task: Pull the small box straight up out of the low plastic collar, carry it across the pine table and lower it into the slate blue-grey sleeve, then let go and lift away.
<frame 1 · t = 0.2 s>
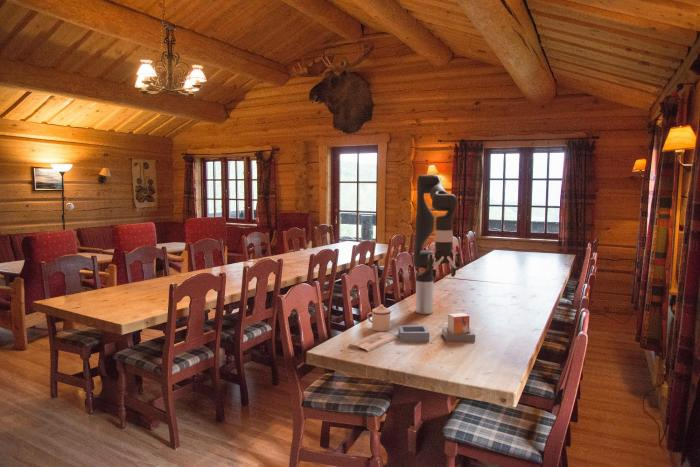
hand: (443, 277, 206), 28 cm above the table, tool pointing down, fingers open, 8 cm apart
small box: (458, 338, 211), resting in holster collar
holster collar: (458, 337, 211), on the table
teacup with lid: (378, 328, 226), on the table
newspaper: (371, 344, 206), on the table
port sleeve: (413, 337, 212), on the table
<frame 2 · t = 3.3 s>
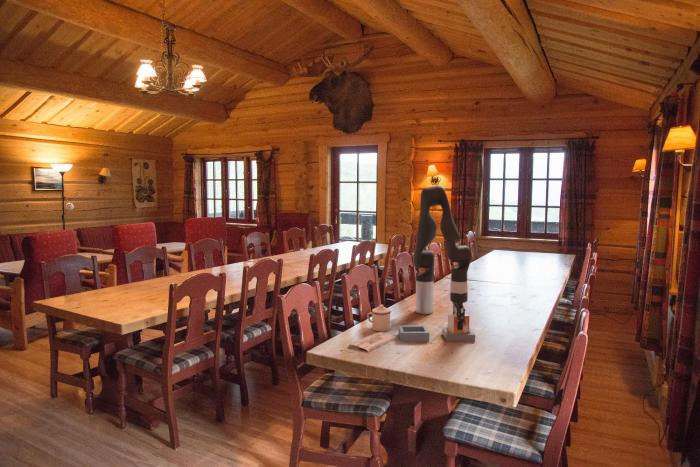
hand: (458, 327, 211), 5 cm above the table, tool pointing down, fingers closed on small box, 6 cm apart
small box: (458, 337, 211), resting in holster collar, touching gripper
everything else where it was.
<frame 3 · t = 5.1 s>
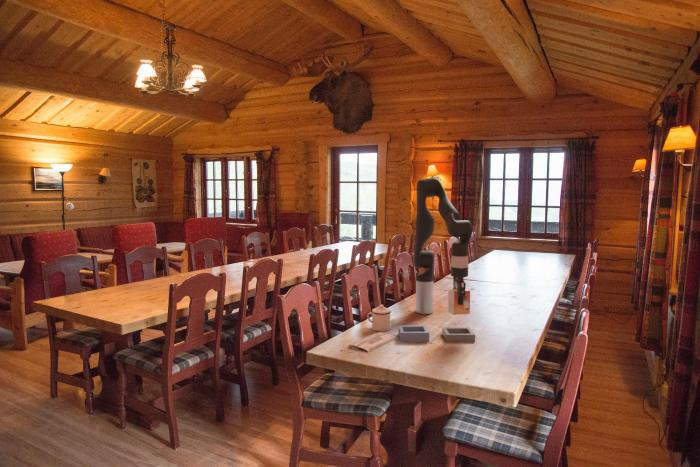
hand: (458, 302, 210), 16 cm above the table, tool pointing down, fingers closed on small box, 6 cm apart
small box: (459, 313, 210), point 11 cm above the table, touching gripper
everything else where it was.
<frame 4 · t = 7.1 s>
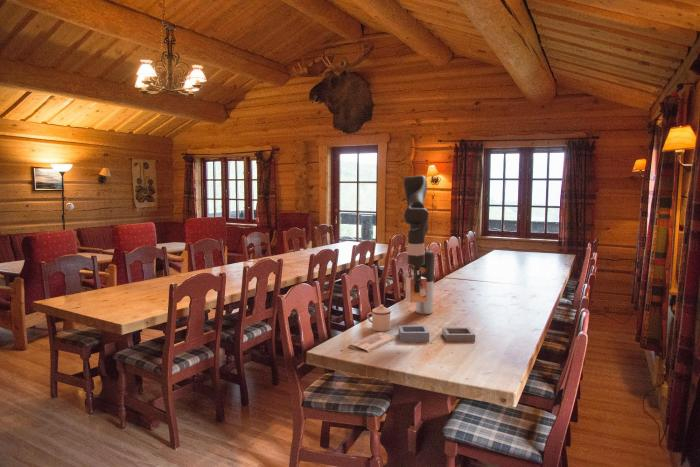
hand: (415, 290, 209), 22 cm above the table, tool pointing down, fingers closed on small box, 6 cm apart
small box: (416, 301, 210), point 17 cm above the table, touching gripper
everything else where it was.
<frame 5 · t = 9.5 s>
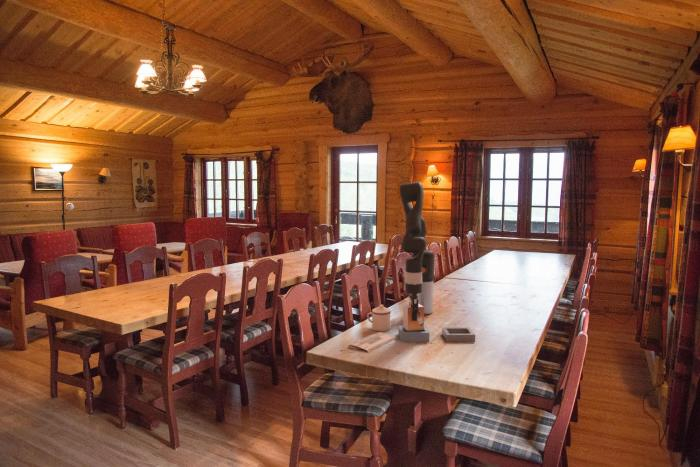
hand: (413, 318, 211), 9 cm above the table, tool pointing down, fingers closed on small box, 6 cm apart
small box: (413, 329, 211), point 4 cm above the table, touching gripper
everything else where it was.
when the fingers open (6 cm above the table, at t = 11.3 s): small box stays where it is, resting in port sleeve.
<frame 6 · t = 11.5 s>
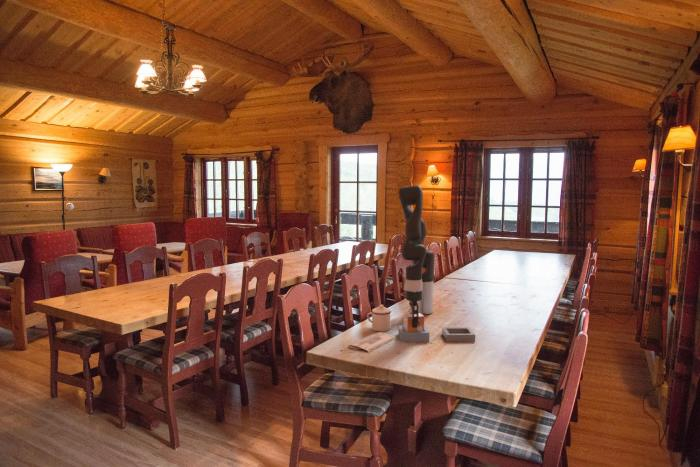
hand: (413, 324, 211), 6 cm above the table, tool pointing down, fingers open, 8 cm apart
small box: (413, 338, 212), resting in port sleeve
everything else where it was.
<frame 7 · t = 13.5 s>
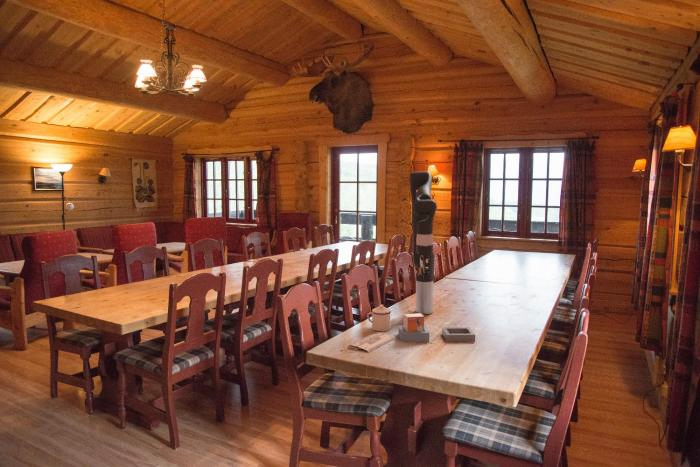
hand: (424, 278, 217), 25 cm above the table, tool pointing down, fingers open, 8 cm apart
nothing on the table moved.
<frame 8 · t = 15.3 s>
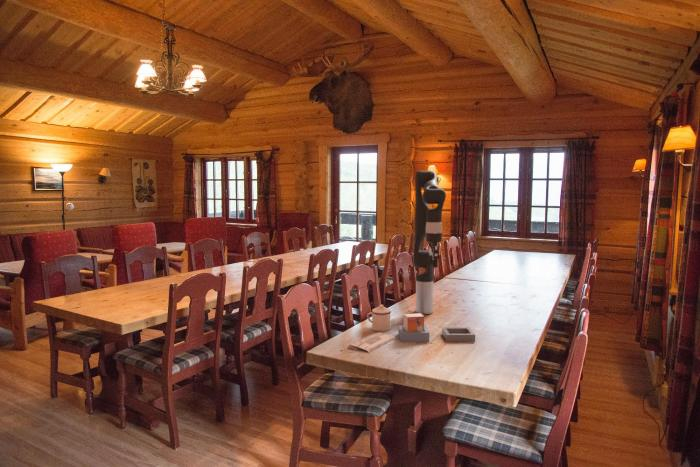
hand: (433, 265, 222), 30 cm above the table, tool pointing down, fingers open, 8 cm apart
nothing on the table moved.
at the end: small box 0.1 cm off-centre on the port sleeve, point 0.0 cm above the port sleeve's base; small box tilted 0°; the gripper is holding nothing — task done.
